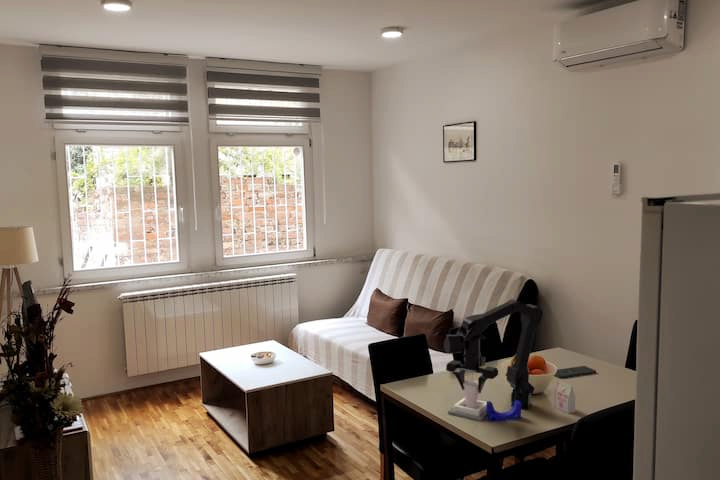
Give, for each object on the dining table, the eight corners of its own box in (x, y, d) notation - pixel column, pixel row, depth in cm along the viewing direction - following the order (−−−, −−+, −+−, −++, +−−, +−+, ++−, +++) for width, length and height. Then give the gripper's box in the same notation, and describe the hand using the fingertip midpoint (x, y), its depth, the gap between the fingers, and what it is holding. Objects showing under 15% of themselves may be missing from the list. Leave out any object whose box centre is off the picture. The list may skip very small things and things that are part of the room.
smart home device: (548, 370, 267) (584, 365, 274) (548, 374, 267) (584, 368, 274) (560, 376, 259) (597, 370, 266) (560, 380, 260) (597, 374, 266)
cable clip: (489, 422, 215) (490, 406, 215) (486, 417, 220) (486, 401, 219) (522, 421, 216) (522, 405, 215) (518, 416, 220) (518, 400, 220)
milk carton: (561, 405, 230) (562, 380, 228) (574, 411, 224) (575, 386, 222) (554, 407, 228) (555, 382, 227) (567, 413, 222) (568, 387, 221)
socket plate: (494, 409, 226) (494, 402, 226) (480, 421, 215) (481, 413, 215) (462, 402, 233) (462, 395, 233) (448, 413, 222) (448, 406, 222)
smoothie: (480, 405, 227) (481, 369, 225) (479, 411, 220) (480, 375, 219) (463, 403, 228) (464, 368, 227) (461, 409, 222) (462, 373, 220)
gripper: (503, 349, 223) (503, 389, 225) (457, 342, 234) (457, 380, 235) (492, 357, 214) (492, 398, 216) (445, 349, 224) (445, 389, 226)
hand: (471, 391), depth 223 cm, fingers closed on smoothie, 6 cm apart
